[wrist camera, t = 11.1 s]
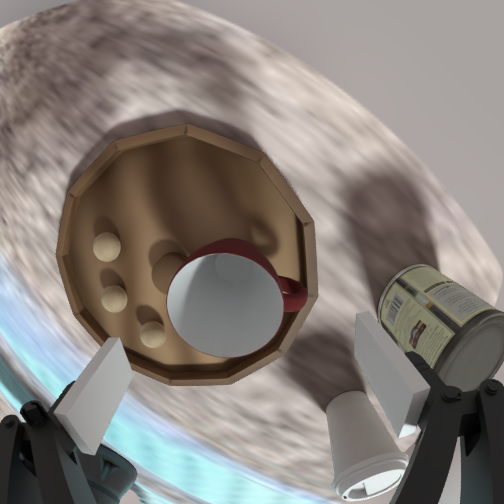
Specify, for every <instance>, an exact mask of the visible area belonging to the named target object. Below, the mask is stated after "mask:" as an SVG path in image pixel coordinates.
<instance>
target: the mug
mask: <svg viewBox="0 0 504 504" xmlns="http://www.w3.org/2000/svg"><path fill="white" fill-rule="evenodd" d="M283 291H284V292H286V293H288V294H286V293H283ZM307 299H308V292H307V290H306V288H305V287H304V285H302V284H301V283H300V282H298V281H296V280H294V279H291V278H288V277H284V276H279V275H278V274H277V272H276V270H275V269H274V267H273V265H272V264H271V263H270V261H269V260H268V259H267V258H266V257H265V256H264V255H263V254H262V253H261V252H260V251H259V250H258V249H257V248H256V247H255V246H254V245H252V244H250V243H249V242H247V241H244V240H241V239H236V238H226V239H221V240H217V241H215V242H212V243H210V244H207V245H205V246H203V247H201V248H199V249H198V250H196V251H195V252H193V253H192V254H191V255H190V256H189V257H188V258H187V259H186V260H185V261H184V262H183V263H182V265H181V266H180V267H179V269H178V270H177V272H176V273H175V275H174V277H173V278H172V280H171V282H170V285H169V287H168V291H167V297H166V307H167V313H168V317H169V320H170V322H171V324H172V326H173V328H174V330H175V331H176V333H177V334H178V335H179V336H180V337H181V338H182V339H183V340H184V341H185V342H186V343H187V344H188V345H190V346H191V347H193V348H194V349H196V350H198V351H200V352H202V353H204V354H207V355H210V356H214V357H220V358H236V357H242V356H246V355H249V354H252V353H254V352H256V351H258V350H260V349H261V348H263V347H264V346H266V345H267V344H268V343H269V342H270V341H271V340H272V339H273V338H274V337H275V335H276V334H277V332H278V331H279V329H280V327H281V324H282V321H283V317H284V312H295V311H298V310H300V309H302V308H303V307H304V306H305V304H306V302H307Z"/></svg>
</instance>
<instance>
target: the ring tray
mask: <svg viewBox="0 0 504 504" xmlns="http://www.w3.org/2000/svg"><path fill="white" fill-rule="evenodd" d="M104 232H109V233H112V234H114V235H115V236H117V238H118V239H119V241H120V245H121V249H120V253H119V255H118V256H117V258H115V259H114V260H112V261H109V262H104V261H101V260H99V259H98V258H97V257H96V256H95V254H94V251H93V243H94V240H95V239H96V237H97V236H98V235H100V234H101V233H104ZM226 238H236V239H241V240H244V241H247V242H249V243H250V244H252V245H254V246H255V247H256V248H257V249H258V250H259V251H260V252H261V253H262V254H263V255H264V256H265V257H266V258H267V259H268V260H269V261H270V263H271V264H272V265H273V267H274V269H275V270H276V272H277V274H278V275H279V276H284V277H288V278H291V279H294V280H296V281H298V282H300V283H301V284H302V285H304V287H305V288H306V290H307V292H308V299H307V302H306V304H305V306H304V307H303V308H302V309H300V310H298V311H295V312H284V317H283V321H282V324H281V327H280V329H279V331H278V332H277V334H276V335H275V337H274V338H273V339H272V340H271V341H270V342H269V343H268V344H267V345H266V346H264V347H263V348H261V349H260V350H258V351H256V352H254V353H252V354H249V355H246V356H242V357H236V358H220V357H214V356H210V355H207V354H204V353H202V352H200V351H198V350H196V349H194V348H193V347H191V346H190V345H188V344H187V343H186V342H185V341H184V340H183V339H182V338H181V337H180V336H179V335H178V334H177V333H176V331H175V330H174V328H173V326H172V324H171V322H170V320H169V317H168V313H167V307H166V297H167V291H168V287H169V285H170V282H171V280H172V278H173V277H174V275H175V273H176V272H177V270H178V269H179V267H180V266H181V265H182V263H183V262H184V261H185V260H186V259H187V258H188V257H189V256H190V255H191V254H192V253H193V252H195V251H196V250H198V249H199V248H201V247H203V246H205V245H207V244H210V243H212V242H215V241H217V240H221V239H226ZM56 259H57V263H58V267H59V271H60V274H61V278H62V281H63V284H64V288H65V291H66V294H67V297H68V300H69V303H70V306H71V309H72V312H73V315H74V316H75V318H76V319H77V320H78V321H79V322H80V324H81V325H82V326H83V327H84V328H85V330H86V331H87V332H88V333H89V334H90V335H91V336H92V337H93V339H94V340H95V341H96V342H97V343H98V344H99V345H100V346H101V347H102V346H103V344H104V343H105V342H106V340H107V339H108V338H114V337H120V340H121V343H122V345H123V348H124V351H125V354H126V356H127V359H128V361H129V364H130V366H131V369H132V370H134V371H136V372H139V373H141V374H143V375H145V376H148V377H150V378H152V379H155V380H157V381H160V382H162V383H164V384H167V385H169V386H170V385H171V386H208V385H230V384H233V383H235V382H237V381H239V380H240V379H242V378H244V377H246V376H248V375H250V374H252V373H253V372H255V371H257V370H259V369H261V368H262V367H264V366H266V365H268V364H269V363H271V362H273V361H275V360H276V359H278V358H280V357H282V356H283V355H285V354H286V352H287V350H288V349H289V347H290V345H291V344H292V342H293V340H294V339H295V337H296V335H297V333H298V332H299V330H300V328H301V327H302V325H303V323H304V321H305V320H306V318H307V316H308V314H309V312H310V311H311V309H312V307H313V305H314V303H315V302H316V300H317V298H318V277H317V257H316V241H315V226H314V220H313V219H312V217H311V216H310V214H309V213H308V212H307V210H306V209H305V207H304V206H303V204H302V203H301V202H300V200H299V199H298V197H297V196H296V195H295V193H294V192H293V190H292V189H291V188H290V186H289V185H288V183H287V182H286V181H285V179H284V178H283V177H282V175H281V174H280V173H279V171H278V170H277V168H276V167H275V166H274V164H273V163H272V162H271V161H270V159H269V158H268V157H267V155H266V154H264V153H263V152H261V151H259V150H256V149H254V148H251V147H249V146H246V145H244V144H241V143H239V142H236V141H234V140H231V139H229V138H226V137H224V136H221V135H218V134H216V133H213V132H210V131H207V130H205V129H202V128H199V127H196V126H193V125H190V124H181V125H177V126H172V127H167V128H163V129H158V130H154V131H150V132H146V133H142V134H138V135H134V136H130V137H126V138H123V139H119V140H116V141H114V142H112V143H111V144H110V145H109V146H108V147H107V148H106V149H105V150H104V151H103V153H102V154H101V155H100V156H99V157H98V158H97V159H96V160H95V161H94V162H93V163H92V164H91V165H90V166H89V168H88V169H87V170H86V171H85V172H84V173H83V174H82V176H81V177H80V178H79V179H78V180H77V181H76V183H75V184H74V185H73V186H72V187H71V189H70V190H69V191H68V193H67V197H66V201H65V206H64V210H63V215H62V220H61V225H60V230H59V236H58V242H57V249H56ZM110 285H117V286H120V287H121V288H123V289H124V291H125V292H126V294H127V304H126V307H125V308H124V309H123V310H122V311H120V312H117V313H113V312H109V311H108V310H106V309H105V308H104V306H103V304H102V301H101V295H102V292H103V290H104V289H105V288H106V287H108V286H110ZM283 293H286V292H284V291H283ZM286 294H288V293H286ZM149 321H155V322H158V323H160V324H161V325H162V326H163V327H164V328H165V331H166V340H165V342H164V343H163V345H161V346H160V347H157V348H150V347H147V346H146V345H144V344H143V342H142V341H141V339H140V329H141V327H142V326H143V325H144V324H145V323H146V322H149Z"/></svg>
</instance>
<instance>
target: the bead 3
mask: <svg viewBox="0 0 504 504" xmlns="http://www.w3.org/2000/svg"><path fill="white" fill-rule="evenodd" d="M140 339H141V341H142V342H143V344H144V345H146V346H147V347H150V348H157V347H160V346H161V345H163V343H164V342H165V340H166V331H165V328H164V327H163V326H162V325H161V324H160V323H158V322H155V321H149V322H146V323H145V324H144V325H143V326H142V327H141V329H140Z"/></svg>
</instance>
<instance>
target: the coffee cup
mask: <svg viewBox="0 0 504 504" xmlns="http://www.w3.org/2000/svg"><path fill="white" fill-rule="evenodd" d="M326 415H327V421H328V428H329V435H330V443H331V450H332V458H333V466H334V476H335V479H334V480H333V482H332V488H333V489H334V491H335V492H336V493H337V494H338V495H340V496H341V497H342V499H343V500H346V501H360V500H365V499H369V498H372V497H375V496H378V495H380V494H383V493H385V492H387V491H389V490H390V489H392V488H393V487H395V486H396V485H398V484H399V483H400V481H401V479H402V477H403V475H404V472H405V470H406V468H407V465H408V456H407V454H405V453H403V452H401V451H400V450H399V448H398V446H397V445H396V443H395V441H394V440H393V438H392V436H391V435H390V433H389V431H388V430H387V428H386V426H385V425H384V423H383V421H382V420H381V418H380V416H379V415H378V413H377V411H376V410H375V408H374V406H373V405H372V403H371V402H370V400H369V398H368V397H367V395H366V394H365V393H363V392H361V391H349V392H345V393H343V394H340V395H338V396H337V397H335V398H334V399H333V400H332V401H331V402H330V403H329V404H328V406H327V408H326Z"/></svg>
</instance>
